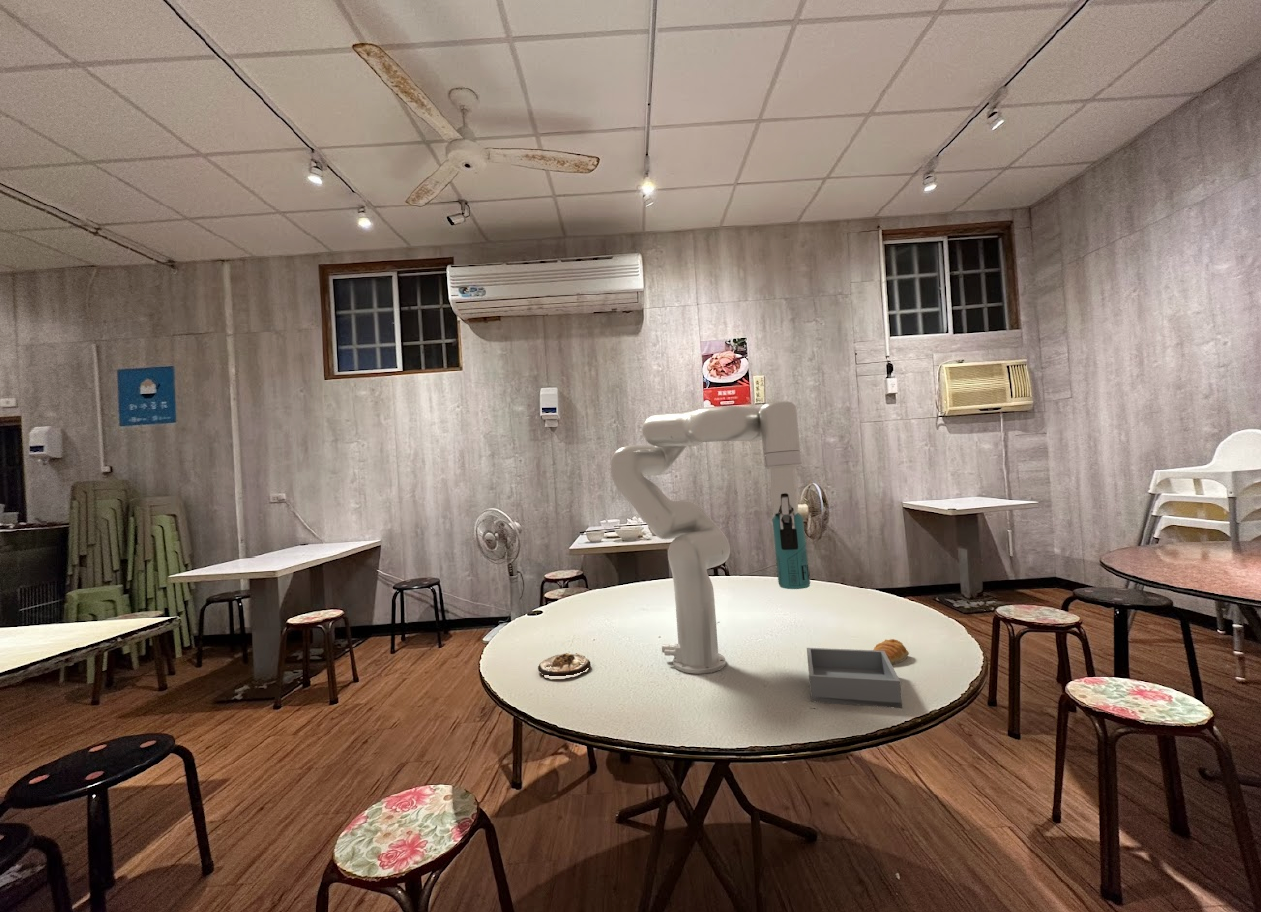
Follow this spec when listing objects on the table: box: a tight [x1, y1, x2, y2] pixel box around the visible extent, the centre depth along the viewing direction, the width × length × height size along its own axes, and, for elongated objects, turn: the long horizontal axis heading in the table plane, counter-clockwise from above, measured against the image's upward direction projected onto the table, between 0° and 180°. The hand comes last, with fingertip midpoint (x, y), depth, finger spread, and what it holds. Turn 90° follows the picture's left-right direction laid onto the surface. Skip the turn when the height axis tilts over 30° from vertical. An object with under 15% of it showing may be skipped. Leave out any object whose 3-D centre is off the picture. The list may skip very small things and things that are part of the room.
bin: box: [806, 647, 903, 709], centre depth 102 cm, size 16×16×5 cm
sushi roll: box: [537, 651, 591, 676], centre depth 122 cm, size 15×15×4 cm
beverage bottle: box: [771, 497, 811, 590], centre depth 103 cm, size 6×7×20 cm
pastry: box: [873, 638, 910, 665], centre depth 116 cm, size 9×7×4 cm
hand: (790, 546), depth 103 cm, fingers closed on beverage bottle, 6 cm apart
